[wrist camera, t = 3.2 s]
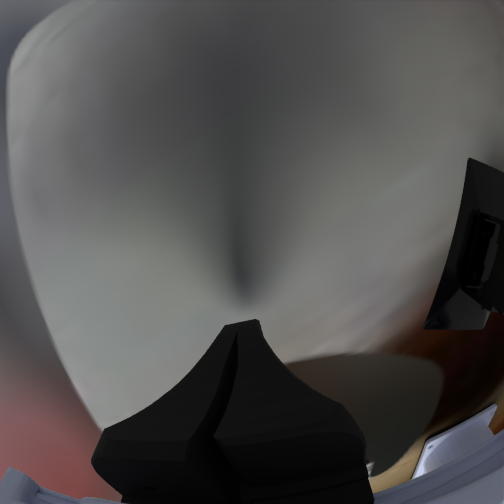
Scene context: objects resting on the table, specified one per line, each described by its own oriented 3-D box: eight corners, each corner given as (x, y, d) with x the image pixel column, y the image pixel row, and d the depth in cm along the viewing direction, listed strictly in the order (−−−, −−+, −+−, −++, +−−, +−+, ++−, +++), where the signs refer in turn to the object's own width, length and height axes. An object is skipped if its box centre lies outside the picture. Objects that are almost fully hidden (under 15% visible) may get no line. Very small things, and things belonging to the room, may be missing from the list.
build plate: (475, 341, 15) (511, 381, 11) (393, 345, 15) (428, 400, 10) (526, 160, 11) (579, 171, 7) (448, 118, 11) (513, 114, 6)
